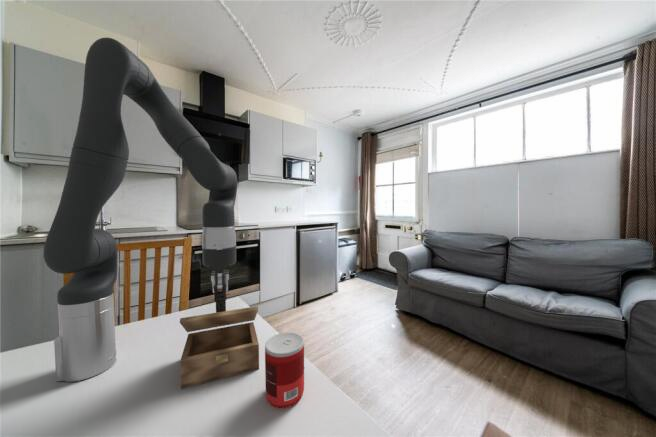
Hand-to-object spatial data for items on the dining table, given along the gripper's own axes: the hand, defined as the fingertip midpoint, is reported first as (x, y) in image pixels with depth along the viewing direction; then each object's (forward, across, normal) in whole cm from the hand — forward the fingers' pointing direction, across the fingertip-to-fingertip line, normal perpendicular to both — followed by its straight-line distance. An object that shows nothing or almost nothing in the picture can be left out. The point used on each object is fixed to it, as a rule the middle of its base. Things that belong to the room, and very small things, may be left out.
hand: (221, 314), depth 59 cm
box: (+12, 0, 0) cm, 12 cm away
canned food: (+12, +16, +12) cm, 24 cm away
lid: (+2, -1, 0) cm, 2 cm away
